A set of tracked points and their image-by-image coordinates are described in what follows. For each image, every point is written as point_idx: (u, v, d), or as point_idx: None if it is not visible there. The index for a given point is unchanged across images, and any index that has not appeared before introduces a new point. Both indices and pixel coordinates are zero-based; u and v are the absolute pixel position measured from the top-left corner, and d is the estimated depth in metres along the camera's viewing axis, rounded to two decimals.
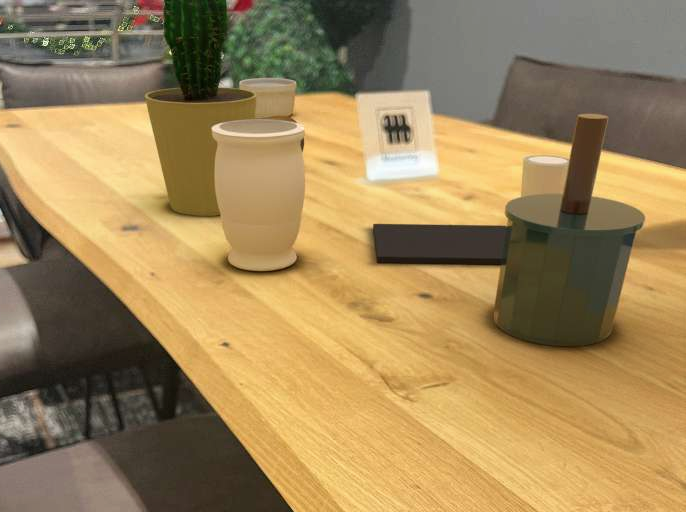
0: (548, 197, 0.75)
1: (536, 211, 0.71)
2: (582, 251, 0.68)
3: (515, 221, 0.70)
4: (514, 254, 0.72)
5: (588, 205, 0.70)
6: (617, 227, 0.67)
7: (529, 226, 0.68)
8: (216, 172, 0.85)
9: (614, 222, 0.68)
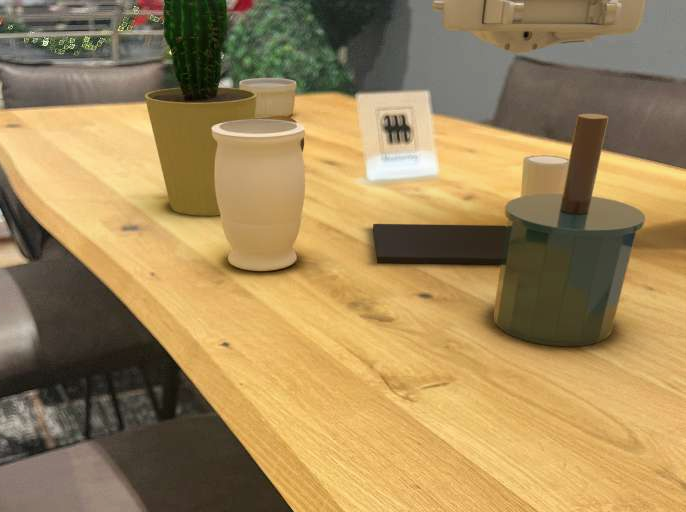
0: (548, 197, 0.75)
1: (536, 211, 0.71)
2: (582, 251, 0.68)
3: (515, 221, 0.70)
4: (514, 254, 0.72)
5: (588, 205, 0.70)
6: (617, 227, 0.67)
7: (529, 226, 0.68)
8: (216, 172, 0.85)
9: (614, 222, 0.68)
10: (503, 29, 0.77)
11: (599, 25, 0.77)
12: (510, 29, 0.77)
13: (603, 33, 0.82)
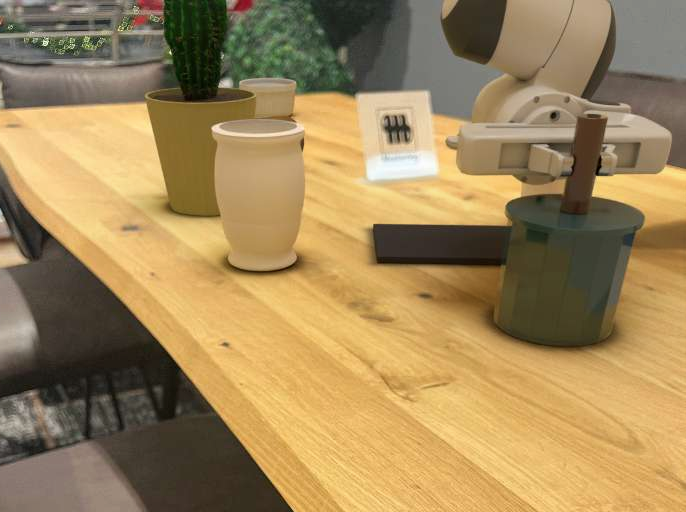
0: (548, 197, 0.75)
1: (536, 211, 0.71)
2: (582, 251, 0.68)
3: (515, 221, 0.70)
4: (514, 254, 0.72)
5: (588, 205, 0.70)
6: (617, 227, 0.67)
7: (529, 226, 0.68)
8: (216, 172, 0.85)
9: (614, 222, 0.68)
10: (521, 174, 0.73)
11: None
12: (528, 174, 0.73)
13: None
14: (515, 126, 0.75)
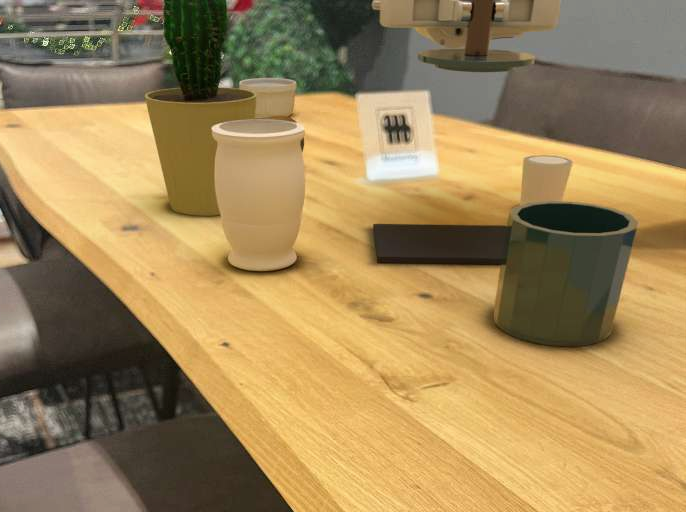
0: (458, 49, 0.87)
1: (443, 54, 0.83)
2: (582, 251, 0.68)
3: (424, 60, 0.82)
4: (514, 254, 0.72)
5: (487, 48, 0.82)
6: (507, 60, 0.79)
7: (434, 62, 0.80)
8: (216, 172, 0.85)
9: (506, 58, 0.80)
10: (432, 26, 0.85)
11: (495, 22, 0.85)
12: (439, 26, 0.85)
13: (528, 30, 0.90)
14: None
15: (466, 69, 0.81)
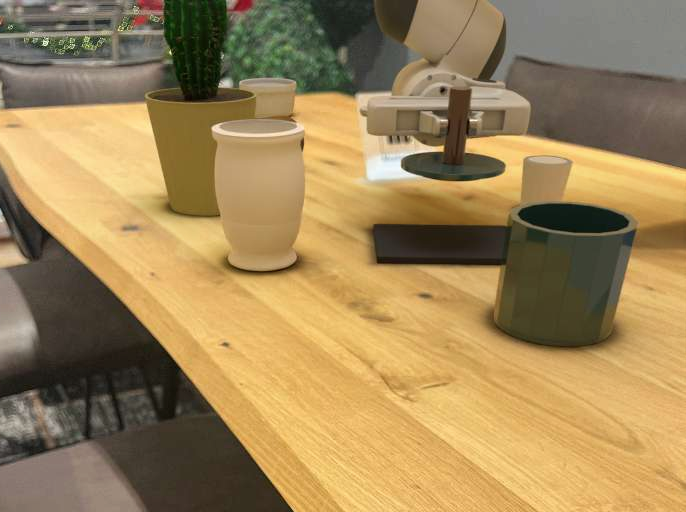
0: (437, 153, 0.96)
1: (423, 162, 0.92)
2: (582, 251, 0.68)
3: (405, 169, 0.91)
4: (514, 254, 0.72)
5: (462, 157, 0.91)
6: (479, 173, 0.88)
7: (414, 172, 0.90)
8: (216, 172, 0.85)
9: (479, 169, 0.89)
10: (414, 135, 0.94)
11: None
12: (419, 134, 0.94)
13: None
14: (412, 98, 0.96)
15: (443, 178, 0.90)
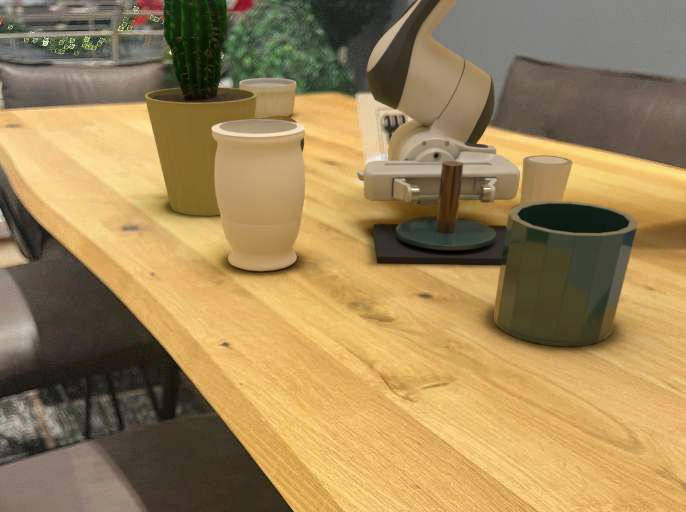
0: (431, 219, 1.01)
1: (417, 230, 0.97)
2: (582, 251, 0.68)
3: (400, 238, 0.96)
4: (514, 254, 0.72)
5: (454, 226, 0.96)
6: (470, 243, 0.93)
7: (409, 242, 0.94)
8: (216, 172, 0.85)
9: (470, 239, 0.94)
10: None
11: None
12: None
13: None
14: (407, 163, 1.01)
15: None
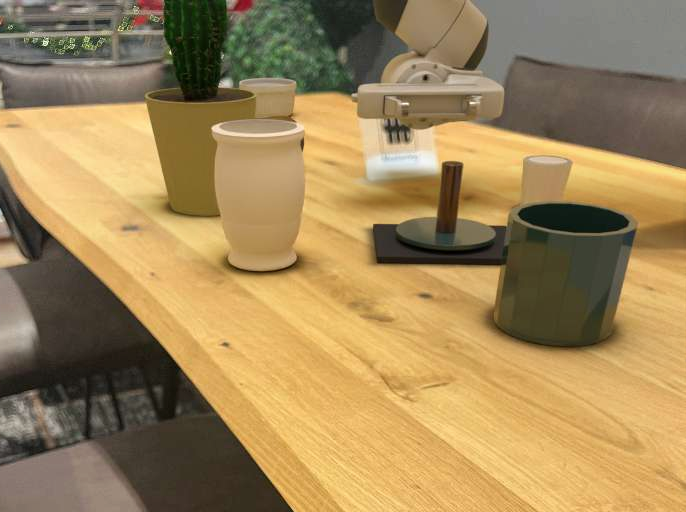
0: (431, 219, 1.01)
1: (417, 230, 0.97)
2: (582, 251, 0.68)
3: (400, 238, 0.96)
4: (514, 254, 0.72)
5: (454, 226, 0.96)
6: (470, 243, 0.93)
7: (409, 242, 0.94)
8: (216, 172, 0.85)
9: (470, 239, 0.94)
10: (399, 117, 1.04)
11: None
12: (404, 117, 1.04)
13: None
14: (398, 85, 1.07)
15: None
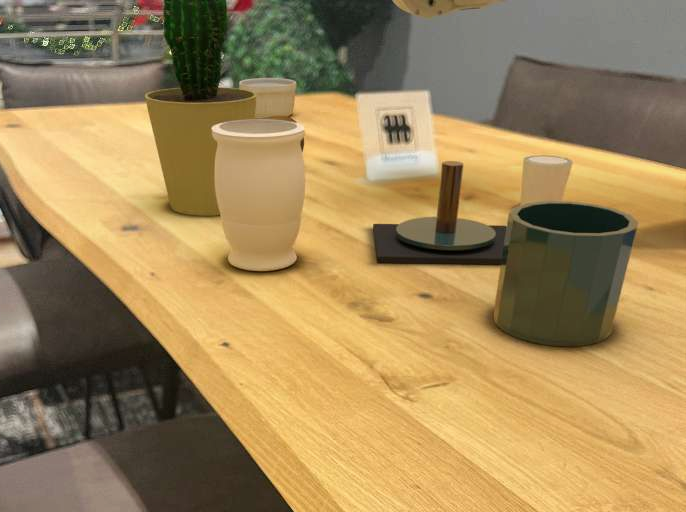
0: (431, 219, 1.01)
1: (417, 230, 0.97)
2: (582, 251, 0.68)
3: (400, 238, 0.96)
4: (514, 254, 0.72)
5: (454, 226, 0.96)
6: (470, 243, 0.93)
7: (409, 242, 0.94)
8: (216, 172, 0.85)
9: (470, 239, 0.94)
10: None
11: None
12: None
13: (493, 1, 1.02)
14: None
15: None
